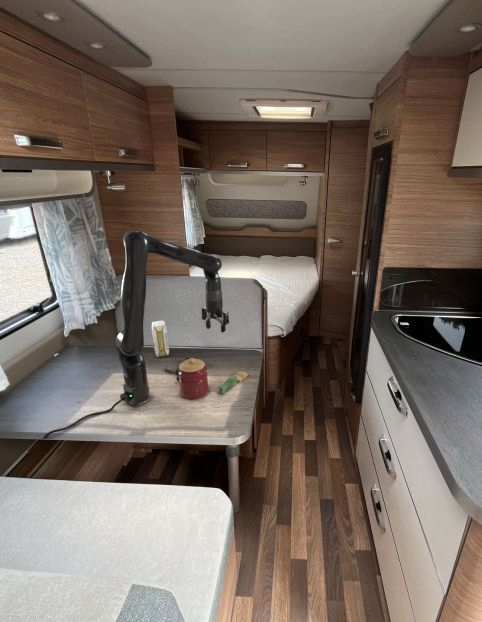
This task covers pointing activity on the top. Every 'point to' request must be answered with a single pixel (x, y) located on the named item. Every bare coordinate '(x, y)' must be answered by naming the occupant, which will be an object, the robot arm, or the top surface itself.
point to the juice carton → (160, 338)
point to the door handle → (175, 370)
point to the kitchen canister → (193, 378)
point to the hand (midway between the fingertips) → (215, 330)
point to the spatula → (232, 381)
